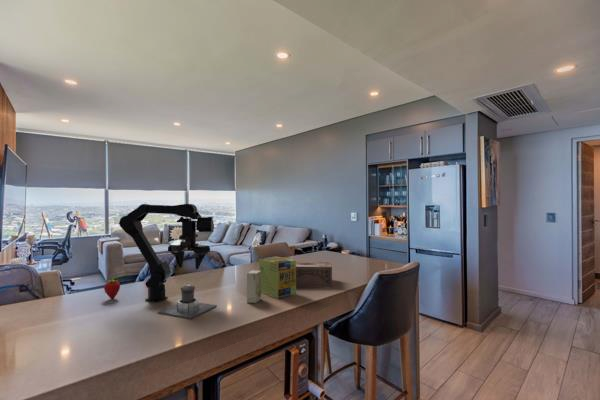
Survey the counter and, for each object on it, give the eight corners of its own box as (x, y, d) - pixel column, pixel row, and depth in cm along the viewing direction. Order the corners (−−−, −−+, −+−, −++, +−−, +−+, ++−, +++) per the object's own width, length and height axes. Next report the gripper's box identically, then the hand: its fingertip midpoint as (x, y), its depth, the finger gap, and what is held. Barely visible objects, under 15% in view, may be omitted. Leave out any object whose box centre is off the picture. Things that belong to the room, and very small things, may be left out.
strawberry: (103, 303, 122) (103, 278, 122) (104, 298, 128) (104, 275, 128) (120, 300, 125) (120, 277, 125) (120, 296, 131) (120, 273, 131)
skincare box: (256, 303, 121) (256, 273, 121) (246, 302, 121) (246, 273, 122) (261, 298, 127) (261, 270, 127) (251, 298, 128) (251, 269, 128)
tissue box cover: (280, 286, 147) (280, 266, 147) (283, 279, 161) (283, 261, 162) (332, 287, 146) (331, 267, 146) (330, 280, 160) (330, 261, 160)
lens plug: (177, 309, 112) (177, 288, 112) (187, 305, 117) (187, 285, 117) (188, 311, 110) (188, 289, 110) (197, 307, 115) (198, 286, 115)
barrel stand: (157, 313, 110) (157, 303, 110) (185, 301, 123) (185, 293, 123) (191, 319, 104) (191, 308, 104) (216, 306, 117) (216, 297, 117)
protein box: (278, 299, 126) (278, 263, 127) (258, 291, 138) (258, 258, 138) (296, 294, 133) (296, 260, 134) (276, 287, 145) (276, 255, 145)
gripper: (157, 233, 124) (157, 270, 124) (192, 234, 117) (192, 274, 117) (177, 231, 134) (177, 265, 134) (210, 232, 127) (210, 268, 127)
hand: (188, 268), depth 128 cm, fingers open, 9 cm apart
